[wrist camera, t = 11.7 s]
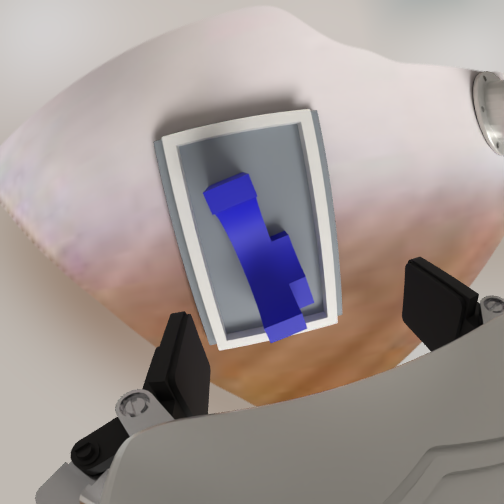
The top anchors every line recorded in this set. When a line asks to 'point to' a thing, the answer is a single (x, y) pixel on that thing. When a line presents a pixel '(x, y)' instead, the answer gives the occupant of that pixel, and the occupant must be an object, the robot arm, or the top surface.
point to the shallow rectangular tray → (271, 207)
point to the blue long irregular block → (262, 257)
